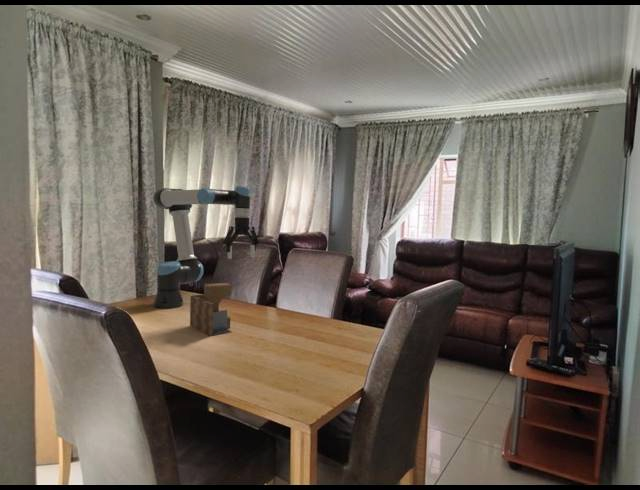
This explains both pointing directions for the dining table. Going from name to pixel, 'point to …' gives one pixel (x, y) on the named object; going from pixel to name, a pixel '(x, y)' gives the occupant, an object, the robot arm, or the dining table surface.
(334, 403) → the dining table surface
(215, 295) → the decorative block
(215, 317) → the bookend
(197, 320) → the wooden grain block
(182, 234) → the robot arm
